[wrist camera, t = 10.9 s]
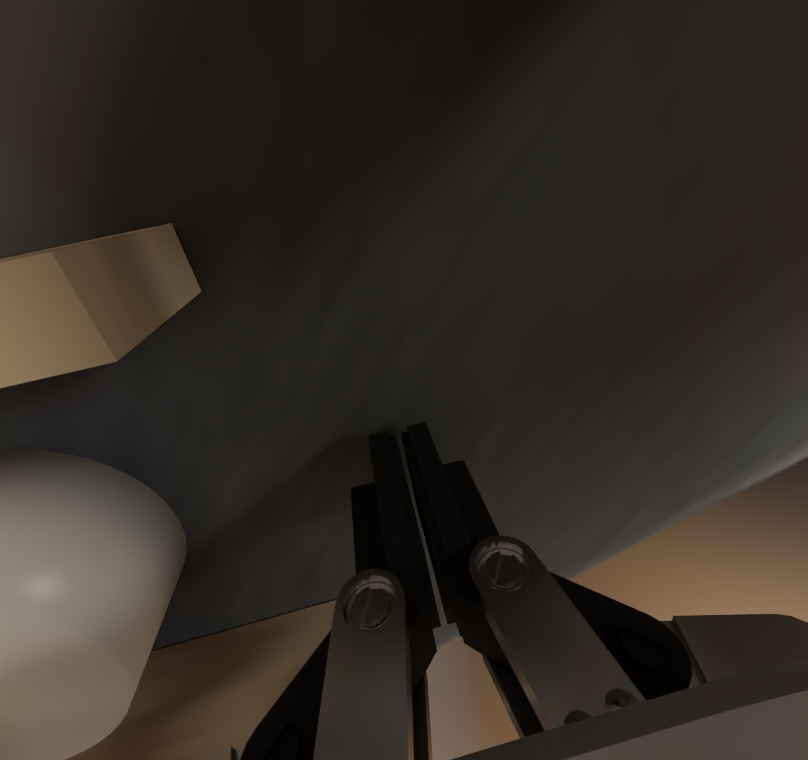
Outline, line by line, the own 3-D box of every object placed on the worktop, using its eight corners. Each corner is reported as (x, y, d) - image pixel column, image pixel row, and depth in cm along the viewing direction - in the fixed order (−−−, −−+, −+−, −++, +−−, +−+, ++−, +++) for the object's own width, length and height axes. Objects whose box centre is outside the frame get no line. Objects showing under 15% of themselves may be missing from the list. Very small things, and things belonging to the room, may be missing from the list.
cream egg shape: (102, 414, 10) (-22, 538, 6) (226, 576, 13) (190, 718, 10) (-171, 495, 10) (-457, 673, 6) (25, 641, 13) (-88, 810, 9)
